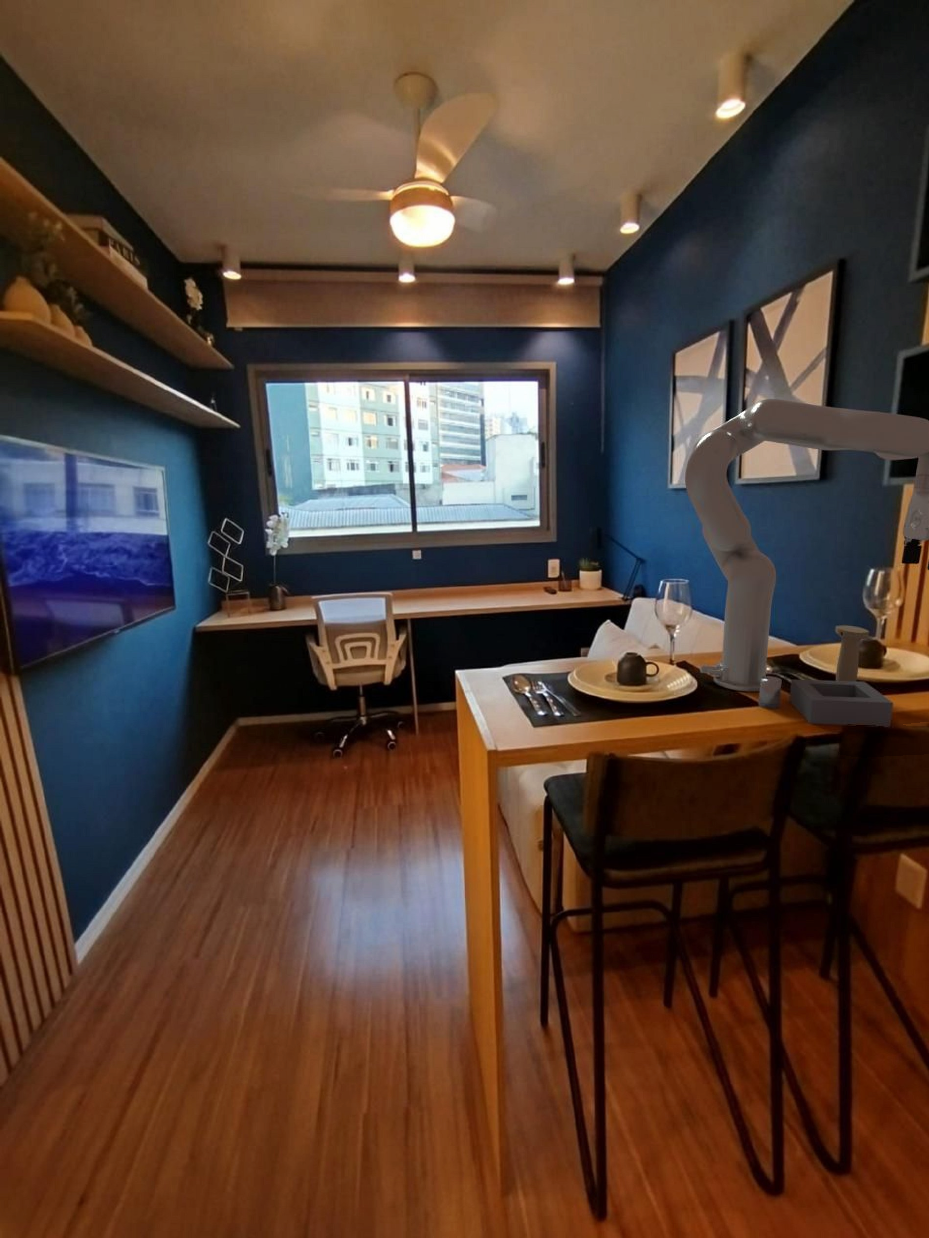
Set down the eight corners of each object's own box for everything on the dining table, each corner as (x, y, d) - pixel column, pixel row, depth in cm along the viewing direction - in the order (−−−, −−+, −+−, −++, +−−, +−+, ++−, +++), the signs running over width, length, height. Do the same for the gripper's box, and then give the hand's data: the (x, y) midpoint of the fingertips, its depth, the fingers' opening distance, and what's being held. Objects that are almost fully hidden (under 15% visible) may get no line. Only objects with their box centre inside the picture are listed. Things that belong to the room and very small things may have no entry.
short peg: (761, 708, 120) (763, 682, 119) (756, 701, 124) (758, 675, 123) (781, 709, 120) (784, 682, 118) (775, 702, 123) (778, 676, 122)
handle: (842, 687, 130) (849, 624, 127) (865, 697, 124) (874, 631, 120) (823, 689, 129) (830, 626, 126) (846, 699, 123) (854, 633, 120)
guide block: (809, 723, 112) (812, 699, 111) (789, 701, 124) (791, 679, 123) (889, 726, 109) (893, 702, 108) (861, 703, 121) (864, 681, 119)
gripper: (894, 484, 125) (882, 561, 129) (941, 484, 108) (926, 573, 112) (933, 483, 123) (919, 561, 127) (987, 484, 107) (969, 573, 111)
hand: (922, 566), depth 120 cm, fingers open, 9 cm apart
